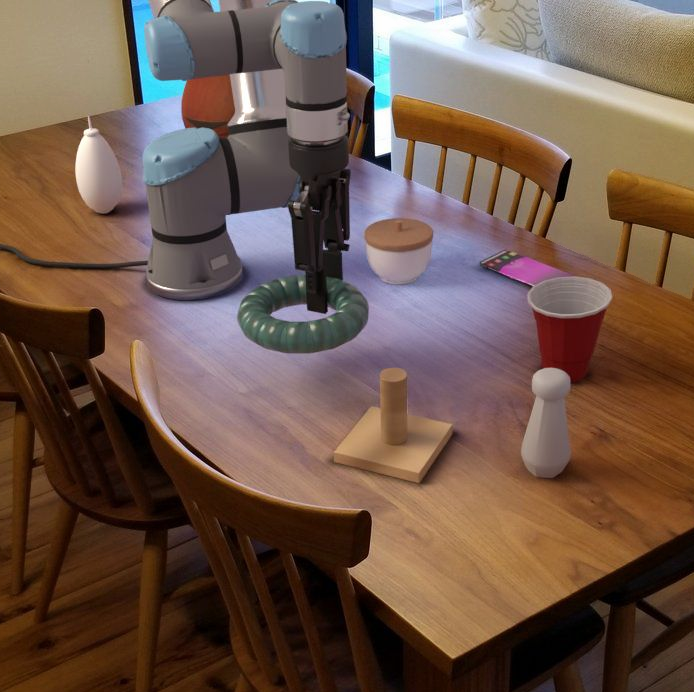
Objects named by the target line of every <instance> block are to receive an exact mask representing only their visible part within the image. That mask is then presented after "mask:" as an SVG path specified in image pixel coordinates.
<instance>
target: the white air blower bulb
mask: <svg viewBox="0 0 694 692" xmlns="http://www.w3.org/2000/svg"><path fill="white" fill-rule="evenodd" d="M87 120H88V127H89V128H87V129H85V130H84V131H83V136H82V138H81V140H80V143H79V145H78V148H77V151H76V157H75V166H74V168H75V169H74V171H75V172H74V173H75V180H76V181H75V182H76V186H77V190H78V192H79V195H80V197H81V198H82V200H83V202H84V203H85V204H86V206H87V207H88V208H89V209H92V210H93V211H94V212H96V213H99V214H101V215H102V214H108V213H110V212H112V211H113V210H114V209H115V207H116V206H118V204H119V203H120V200H121V197H122V196H121V195H122V192H123V178H122V173H121V168H120V164H119V162H118V160H117V157H116V154H115V153H114V151H113V149H112V147H111V146H110V143H108V141H107V140H106V139H105V138H104V137H103V136H102V135H101V134H100V130H99V129H98V128H93V126H92V122H91V121H92V120H91V116H90V115H87Z"/></svg>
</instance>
